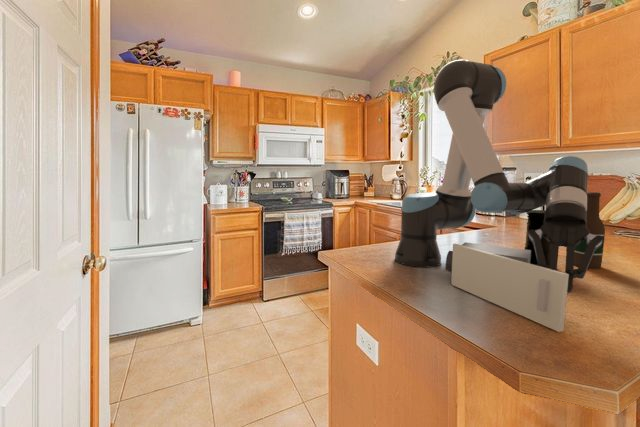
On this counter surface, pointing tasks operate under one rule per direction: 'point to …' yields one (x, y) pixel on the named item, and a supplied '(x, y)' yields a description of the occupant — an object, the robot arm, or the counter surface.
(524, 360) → the counter surface
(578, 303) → the counter surface
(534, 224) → the container
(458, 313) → the counter surface
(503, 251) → the camera case
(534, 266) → the side door
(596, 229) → the beer bottle
